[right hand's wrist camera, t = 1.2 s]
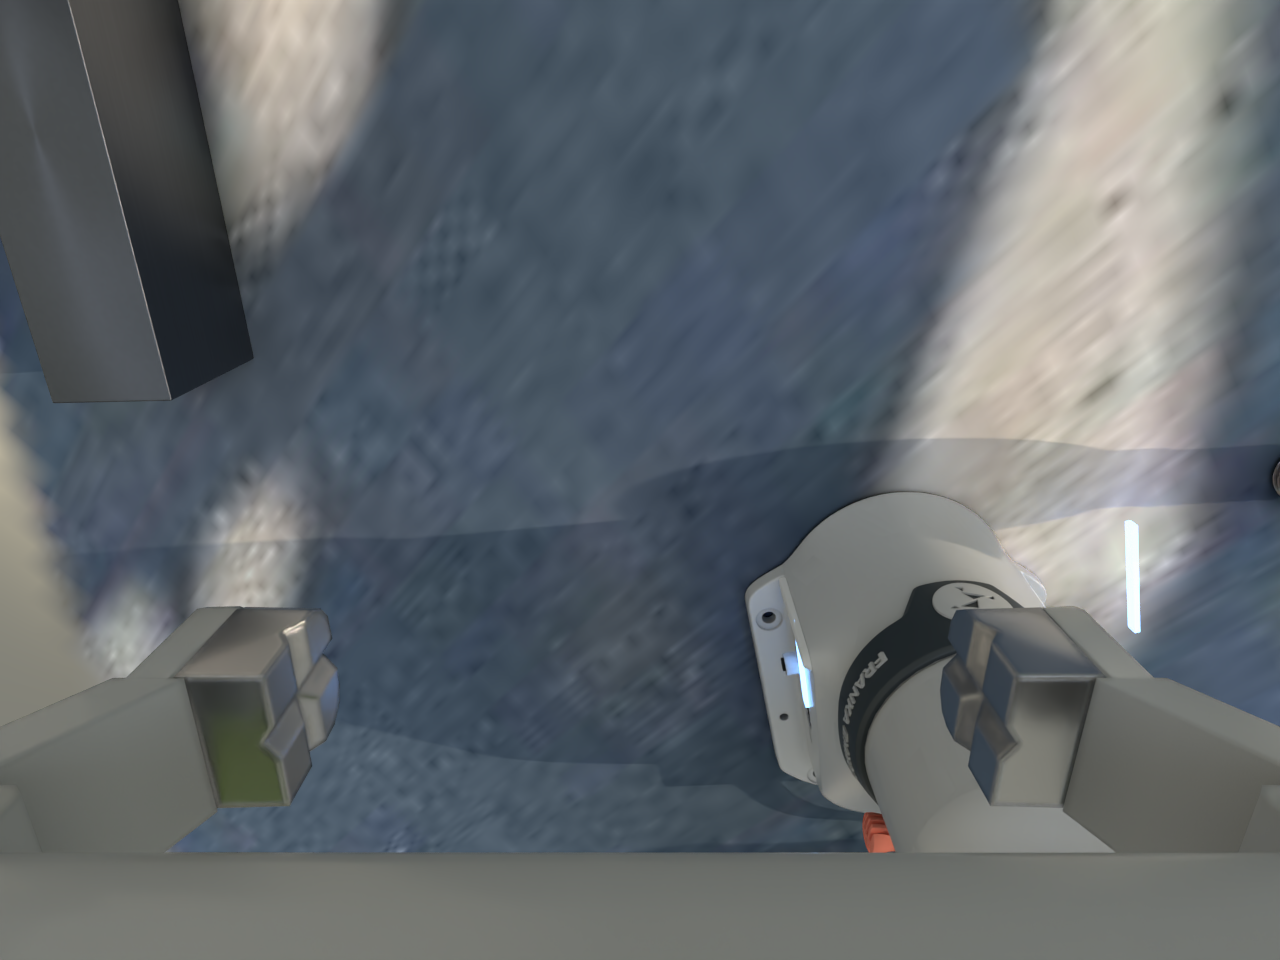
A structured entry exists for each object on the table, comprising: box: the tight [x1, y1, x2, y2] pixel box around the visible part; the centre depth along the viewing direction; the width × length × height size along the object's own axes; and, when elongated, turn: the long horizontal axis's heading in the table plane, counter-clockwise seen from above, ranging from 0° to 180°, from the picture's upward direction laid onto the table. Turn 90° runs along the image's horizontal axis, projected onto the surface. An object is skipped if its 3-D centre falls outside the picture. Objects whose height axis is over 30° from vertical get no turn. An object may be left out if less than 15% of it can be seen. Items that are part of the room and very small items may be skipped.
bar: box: [0, 0, 253, 403], centre depth 36 cm, size 23×6×8 cm, turn 1°
